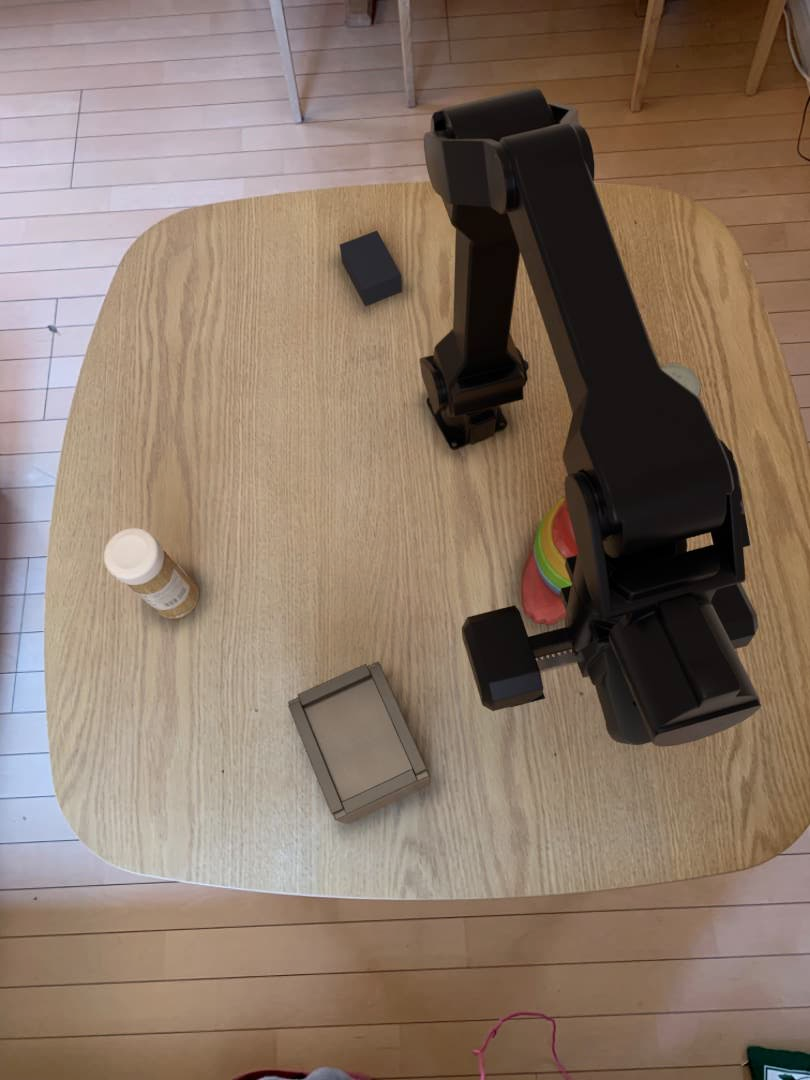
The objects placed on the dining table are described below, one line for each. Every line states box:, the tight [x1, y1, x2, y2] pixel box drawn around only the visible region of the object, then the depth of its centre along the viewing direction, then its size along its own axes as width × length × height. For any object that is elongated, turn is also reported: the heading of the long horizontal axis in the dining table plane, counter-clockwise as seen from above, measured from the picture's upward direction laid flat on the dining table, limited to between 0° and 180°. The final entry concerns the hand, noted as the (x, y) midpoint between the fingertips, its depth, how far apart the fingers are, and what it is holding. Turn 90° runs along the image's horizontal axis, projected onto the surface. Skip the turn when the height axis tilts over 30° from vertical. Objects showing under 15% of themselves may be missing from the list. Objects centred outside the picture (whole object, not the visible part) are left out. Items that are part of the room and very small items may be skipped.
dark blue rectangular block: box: [339, 230, 403, 307], centre depth 93 cm, size 6×4×3 cm
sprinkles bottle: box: [103, 527, 200, 620], centre depth 76 cm, size 5×5×13 cm
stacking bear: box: [520, 496, 578, 626], centre depth 73 cm, size 11×10×18 cm
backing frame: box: [287, 661, 431, 825], centre depth 71 cm, size 10×8×11 cm
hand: (592, 676), depth 64 cm, fingers open, 9 cm apart
